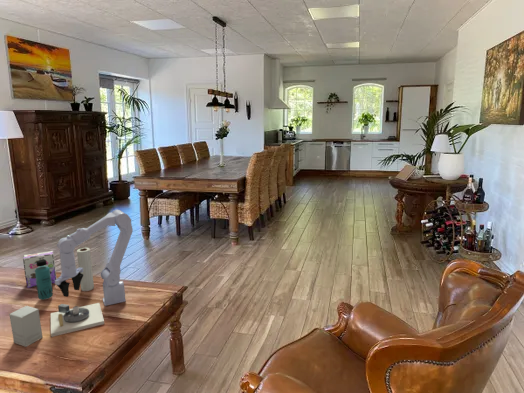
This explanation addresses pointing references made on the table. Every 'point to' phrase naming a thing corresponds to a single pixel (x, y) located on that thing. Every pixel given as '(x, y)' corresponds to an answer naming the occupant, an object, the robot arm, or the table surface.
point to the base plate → (65, 327)
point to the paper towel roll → (85, 268)
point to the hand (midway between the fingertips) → (71, 292)
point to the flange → (70, 316)
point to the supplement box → (26, 326)
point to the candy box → (31, 266)
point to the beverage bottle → (43, 280)
